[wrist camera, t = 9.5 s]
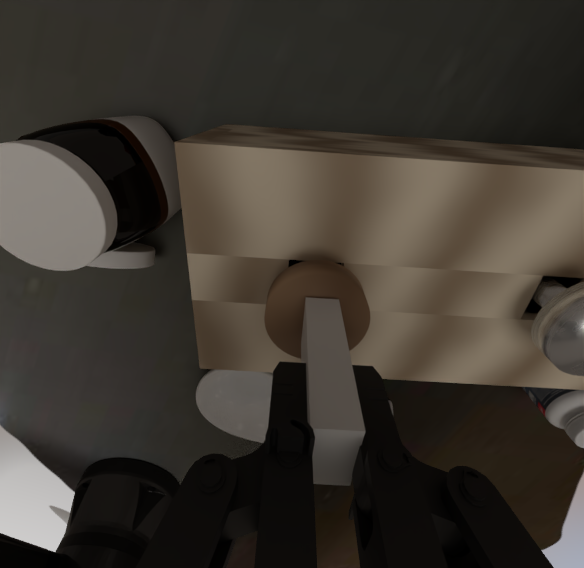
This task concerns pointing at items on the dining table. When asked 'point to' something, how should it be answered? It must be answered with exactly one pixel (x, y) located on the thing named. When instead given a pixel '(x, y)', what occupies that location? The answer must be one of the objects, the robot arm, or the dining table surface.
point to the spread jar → (87, 193)
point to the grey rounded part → (560, 324)
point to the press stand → (384, 245)
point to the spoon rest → (237, 401)
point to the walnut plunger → (314, 284)
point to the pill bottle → (561, 409)
